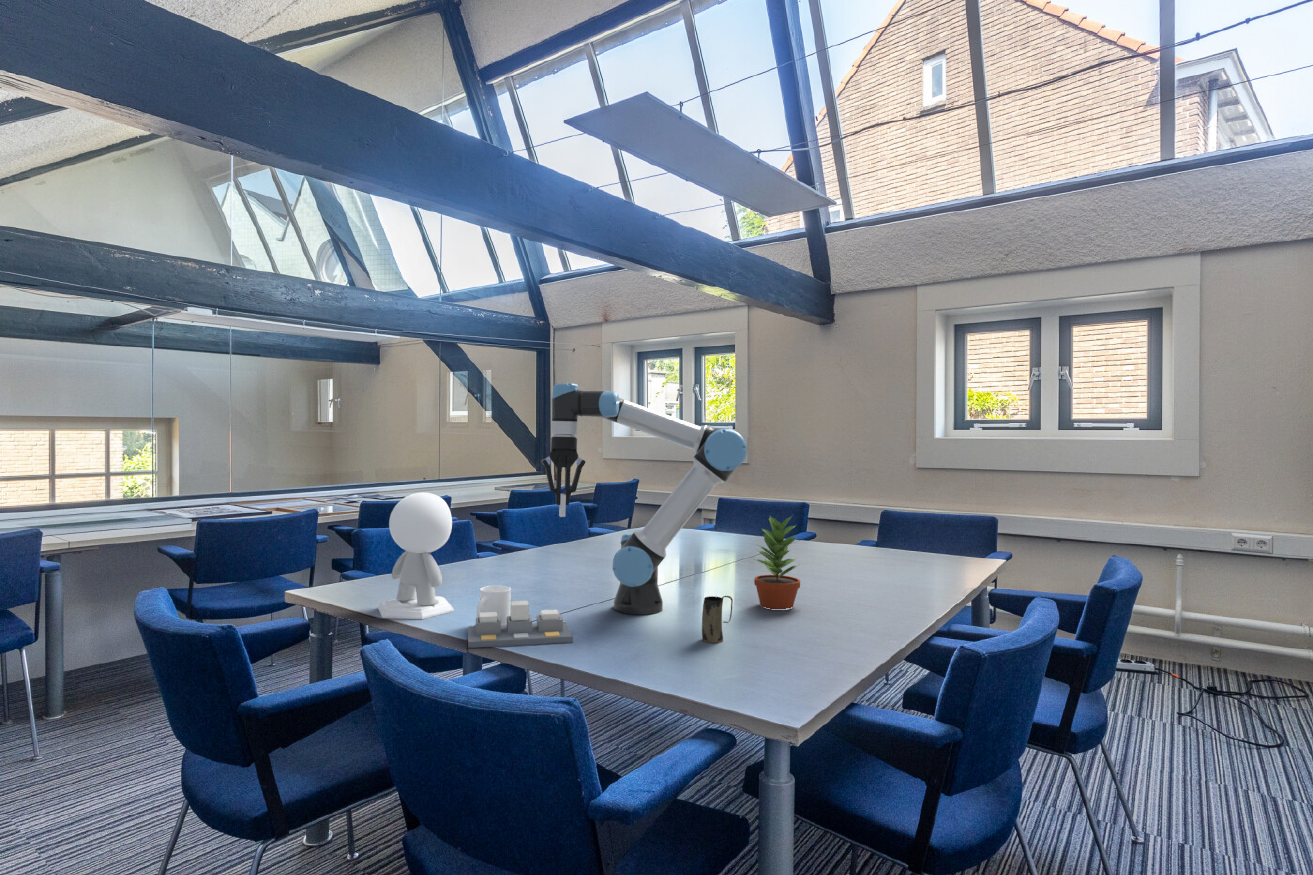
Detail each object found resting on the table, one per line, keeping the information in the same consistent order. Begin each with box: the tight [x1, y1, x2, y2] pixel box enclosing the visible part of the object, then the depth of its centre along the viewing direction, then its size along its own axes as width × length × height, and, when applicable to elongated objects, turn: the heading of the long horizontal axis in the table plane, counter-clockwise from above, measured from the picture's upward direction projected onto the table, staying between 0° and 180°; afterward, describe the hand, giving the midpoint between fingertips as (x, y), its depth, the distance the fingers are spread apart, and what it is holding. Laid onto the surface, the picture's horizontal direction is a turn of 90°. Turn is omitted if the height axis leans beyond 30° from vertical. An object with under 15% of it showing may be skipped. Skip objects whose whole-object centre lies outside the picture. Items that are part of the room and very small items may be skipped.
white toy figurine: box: [377, 491, 455, 620], centre depth 206 cm, size 20×23×35 cm
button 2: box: [510, 600, 530, 621], centre depth 183 cm, size 4×4×4 cm
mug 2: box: [701, 595, 734, 644], centre depth 183 cm, size 8×6×12 cm
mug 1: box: [476, 585, 512, 625], centre depth 190 cm, size 12×8×10 cm
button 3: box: [479, 612, 497, 623], centre depth 181 cm, size 4×4×4 cm
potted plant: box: [753, 514, 801, 609], centre depth 221 cm, size 15×15×30 cm
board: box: [467, 613, 574, 649], centre depth 181 cm, size 26×14×4 cm, turn 105°
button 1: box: [540, 609, 560, 620], centre depth 185 cm, size 4×4×4 cm
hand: (562, 516), depth 203 cm, fingers closed
